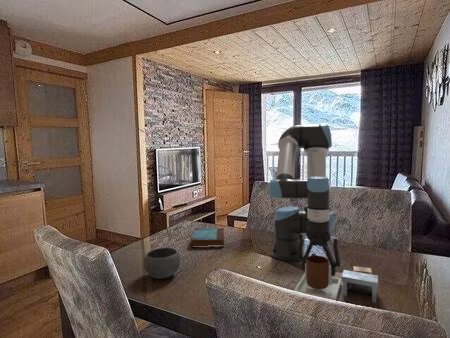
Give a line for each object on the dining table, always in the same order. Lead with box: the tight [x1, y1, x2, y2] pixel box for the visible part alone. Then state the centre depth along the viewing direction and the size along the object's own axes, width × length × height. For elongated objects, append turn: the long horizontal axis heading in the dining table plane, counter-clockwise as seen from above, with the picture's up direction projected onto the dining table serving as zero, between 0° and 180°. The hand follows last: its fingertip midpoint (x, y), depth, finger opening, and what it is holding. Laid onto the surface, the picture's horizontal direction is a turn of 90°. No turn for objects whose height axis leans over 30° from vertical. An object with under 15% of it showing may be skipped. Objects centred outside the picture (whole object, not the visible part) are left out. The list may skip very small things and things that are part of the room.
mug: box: [306, 252, 330, 289], centre depth 103 cm, size 12×8×9 cm, turn 174°
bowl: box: [143, 247, 181, 280], centre depth 118 cm, size 15×15×10 cm
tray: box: [293, 272, 343, 300], centre depth 103 cm, size 14×17×2 cm
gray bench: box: [341, 269, 379, 304], centre depth 100 cm, size 11×9×7 cm
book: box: [190, 227, 225, 247], centre depth 162 cm, size 23×18×5 cm
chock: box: [352, 265, 373, 275], centre depth 106 cm, size 6×4×6 cm, turn 69°
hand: (318, 281), depth 103 cm, fingers closed on mug, 7 cm apart
